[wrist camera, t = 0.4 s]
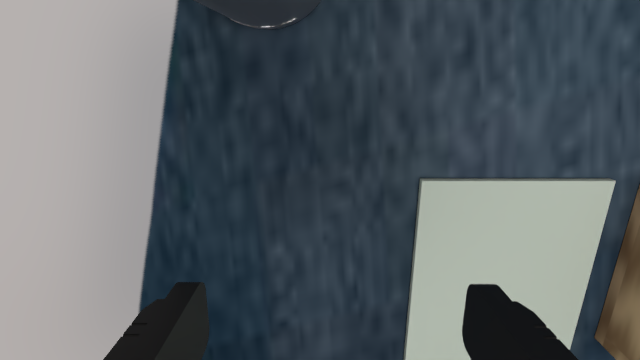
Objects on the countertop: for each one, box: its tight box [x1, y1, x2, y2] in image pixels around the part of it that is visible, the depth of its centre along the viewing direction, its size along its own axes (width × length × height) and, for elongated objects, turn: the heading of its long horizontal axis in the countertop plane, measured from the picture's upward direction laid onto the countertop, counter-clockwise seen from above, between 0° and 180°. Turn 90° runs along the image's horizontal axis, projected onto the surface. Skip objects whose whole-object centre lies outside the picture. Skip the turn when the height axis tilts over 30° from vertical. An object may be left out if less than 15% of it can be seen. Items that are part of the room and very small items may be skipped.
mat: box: [403, 179, 616, 360], centre depth 31 cm, size 19×15×1 cm
